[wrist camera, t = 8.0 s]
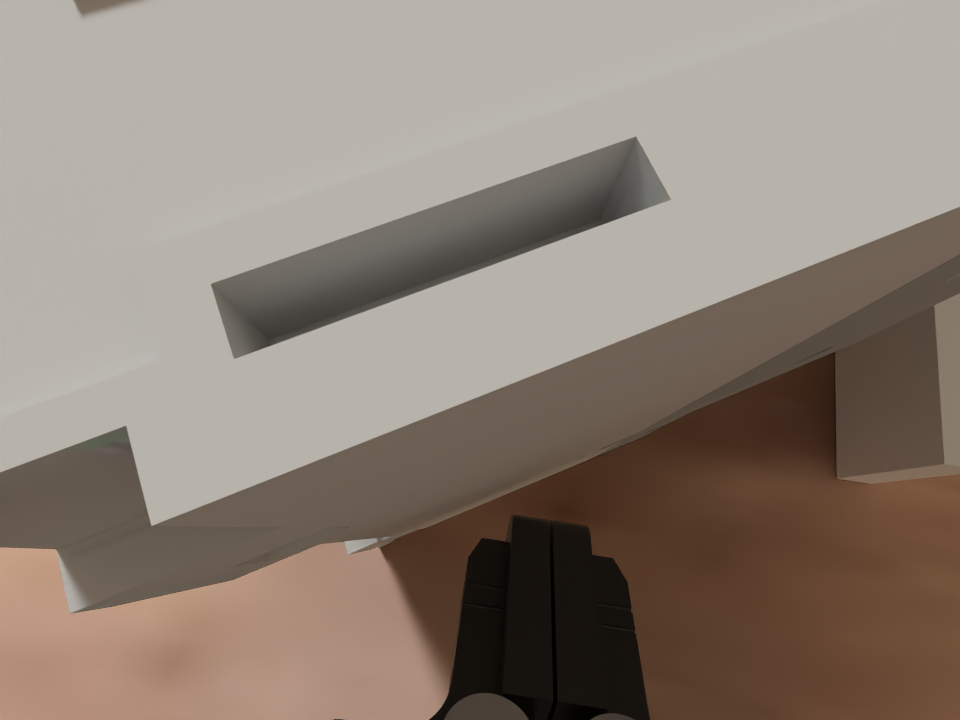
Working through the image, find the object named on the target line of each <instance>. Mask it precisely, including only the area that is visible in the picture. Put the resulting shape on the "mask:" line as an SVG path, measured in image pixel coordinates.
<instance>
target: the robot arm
mask: <svg viewBox="0 0 960 720" xmlns="http://www.w3.org/2000/svg"><path fill="white" fill-rule="evenodd" d="M634 631H635V626H634V620H633V614H632V612H631V601H630V595H629V589H628V583H627V581H626V579H625V577H624V576H623V574H622V572H621V571H620V569H619V567H618V566H617V564H616V563H615V561H614V559H613V558H608V557H602V556H595V555H592V548H591V539H590V531H589V528H588V526H583V525H577V524H570V523H564V522H557V521H550V523H549V521H548V520H543V519H537V518H531V517H524V516H518V515H511V519H510V523H509V528H508V533H507V539H506V542H504V541H498V540H492V539H485V538H482V539H481V540H480V542H479V543H478V545H477V546H476V547H475V549H474V550H473V552H472V553H471V554H470V556H469V557H468V563H467V570H466V576H465V582H464V589H463V595H462V601H461V607H460V614H459V621H458V629H457V636H456V643H455V650H454V658H453V665H452V672H451V679H450V686H449V694H448V696H447V699H446V700H445V702H444V704H443V706H442V707H441V708H440V710H439V711H438V712H437V713H436V714H435V715H434V716H433V717H432V718H431V719H430V720H650V717H649V712H648V706H647V700H646V694H645V687H644V681H643V675H642V669H641V663H640V657H639V651H638V644H637V638H636V634H635V632H634ZM335 720H341V719H335Z"/></svg>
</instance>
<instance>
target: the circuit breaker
mask: <svg viewBox="0 0 960 720" xmlns="http://www.w3.org/2000/svg"><path fill="white" fill-rule="evenodd" d="M959 293H960V0H0V547H9V548H38V549H56V551H57V555H58V560H59V565H60V570H61V575H62V579H63V584H64V589H65V594H66V599H67V603H68V608H69V613H70V614H71V613H77V612H83V611H89V610H95V609H101V608H107V607H112V606H117V605H122V604H126V603H131V602H135V601H140V600H144V599H149V598H153V597H158V596H162V595H167V594H171V593H176V592H181V591H185V590H190V589H194V588H199V587H203V586H208V585H212V584H217V583H221V582H226V581H230V580H234V579H236V578H239V577H241V576H244V575H246V574H248V573H251V572H253V571H256V570H258V569H261V568H263V567H265V566H268V565H270V564H273V563H275V562H277V561H280V560H282V559H285V558H287V557H290V556H292V555H294V554H297V553H299V552H302V551H304V550H306V549H309V548H311V547H314V546H316V545H319V544H324V543H334V542H344V544H345V547H346V550H347V553H348V554H353V553H357V552H362V551H367V550H371V549H373V548H376V547H377V548H380V547H382V546H385V545H387V544H389V543H392V542H394V540H395V539H397V538H400V537H402V536H404V535H407V534H409V533H411V532H414V531H416V530H419V529H425V528H427V527H430V526H432V525H435V524H437V523H439V522H442V521H444V520H446V519H449V518H451V517H454V516H456V515H458V514H461V513H463V512H465V511H468V510H470V509H473V508H475V507H477V506H480V505H482V504H484V503H487V502H489V501H492V500H494V499H496V498H499V497H501V496H503V495H506V494H508V493H511V492H513V491H515V490H518V489H520V488H522V487H525V486H527V485H530V484H532V483H534V482H537V481H539V480H542V479H544V478H546V477H549V476H551V475H553V474H556V473H558V472H561V471H563V470H565V469H568V468H570V467H572V466H575V465H577V464H580V463H582V462H584V461H587V460H589V459H591V458H594V457H596V456H599V455H601V454H603V453H606V452H608V451H610V450H613V449H615V448H618V447H620V446H622V445H625V444H627V443H630V442H632V441H634V440H637V439H639V438H641V437H643V436H645V435H647V434H649V433H651V432H653V431H655V430H657V429H659V428H661V427H663V425H665V424H668V423H670V422H673V421H675V420H676V419H678V418H680V417H682V416H684V415H686V414H688V413H690V412H693V411H695V410H698V409H700V408H702V407H705V406H707V405H709V404H712V403H714V402H717V401H719V400H721V399H724V398H726V397H729V396H731V395H733V394H736V393H738V392H740V391H743V390H745V389H748V388H750V387H752V386H755V385H757V384H760V383H762V382H764V381H767V380H769V379H771V378H774V377H776V376H779V375H781V374H783V373H786V372H788V371H791V370H793V369H795V368H798V367H800V366H802V365H805V364H807V363H810V362H812V361H814V360H817V359H819V358H821V357H824V356H826V355H829V354H831V353H833V352H836V351H838V350H841V349H843V348H845V347H848V346H850V345H852V344H854V343H856V342H858V341H860V340H863V339H865V338H867V337H869V336H871V335H873V334H875V333H877V332H879V331H881V330H884V329H886V328H888V327H890V326H892V325H894V324H896V323H898V322H900V321H903V320H905V319H907V318H909V317H911V316H913V315H915V314H917V313H919V312H921V311H924V310H926V309H928V308H930V307H932V306H934V305H936V304H938V303H940V302H943V301H945V300H947V299H949V298H951V297H953V296H955V295H957V294H959Z"/></svg>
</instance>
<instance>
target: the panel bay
mask: <svg viewBox="0 0 960 720" xmlns="http://www.w3.org/2000/svg"><path fill="white" fill-rule="evenodd" d="M835 388H836V463H837V479H842V480H849V481H855V482H861V483H867V484H876V483H885V482H895V481H904V480H913V479H922V478H931V477H940V476H949V475H958V474H960V293H959V294H957V295H955V296H953V297H951V298H949V299H947V300H945V301H943V302H940V303H938V304H936V305H934V306H932V307H930V308H928V309H926V310H924V311H921V312H919V313H917V314H915V315H913V316H911V317H909V318H907V319H905V320H903V321H900V322H898V323H896V324H894V325H892V326H890V327H888V328H886V329H884V330H881V331H879V332H877V333H875V334H873V335H871V336H869V337H867V338H865V339H863V340H860V341H858V342H856V343H854V344H852V345H850V346H848V347H845V348H843V349H841V350H838V351H836V352H835Z"/></svg>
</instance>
